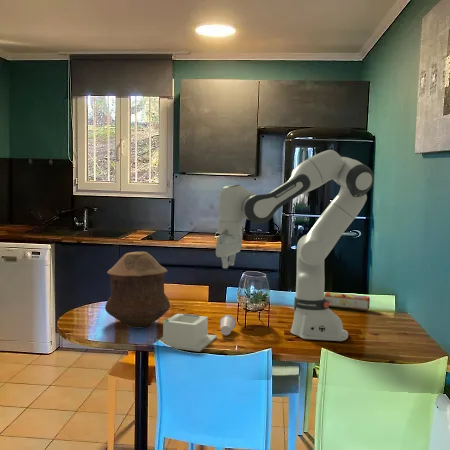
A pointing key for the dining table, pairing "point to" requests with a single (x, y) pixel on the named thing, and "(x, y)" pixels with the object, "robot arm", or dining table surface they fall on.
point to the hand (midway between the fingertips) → (228, 266)
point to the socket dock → (187, 332)
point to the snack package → (347, 300)
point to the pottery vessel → (137, 290)
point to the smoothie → (227, 324)
